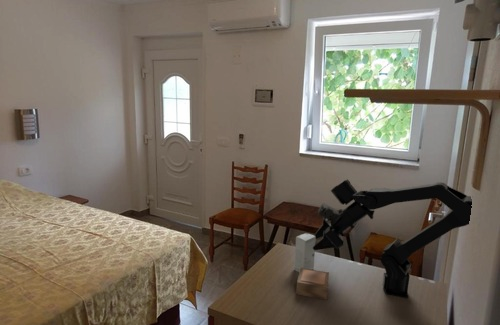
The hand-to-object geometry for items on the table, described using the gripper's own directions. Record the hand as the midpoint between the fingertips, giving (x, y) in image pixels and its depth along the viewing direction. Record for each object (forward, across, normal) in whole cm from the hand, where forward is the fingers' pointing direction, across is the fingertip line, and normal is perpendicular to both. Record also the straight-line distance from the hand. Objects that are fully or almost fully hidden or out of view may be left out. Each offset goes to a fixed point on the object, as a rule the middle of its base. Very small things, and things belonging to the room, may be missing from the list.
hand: (313, 243), depth 113 cm
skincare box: (+9, 0, +5) cm, 10 cm away
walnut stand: (+6, +12, +7) cm, 15 cm away
